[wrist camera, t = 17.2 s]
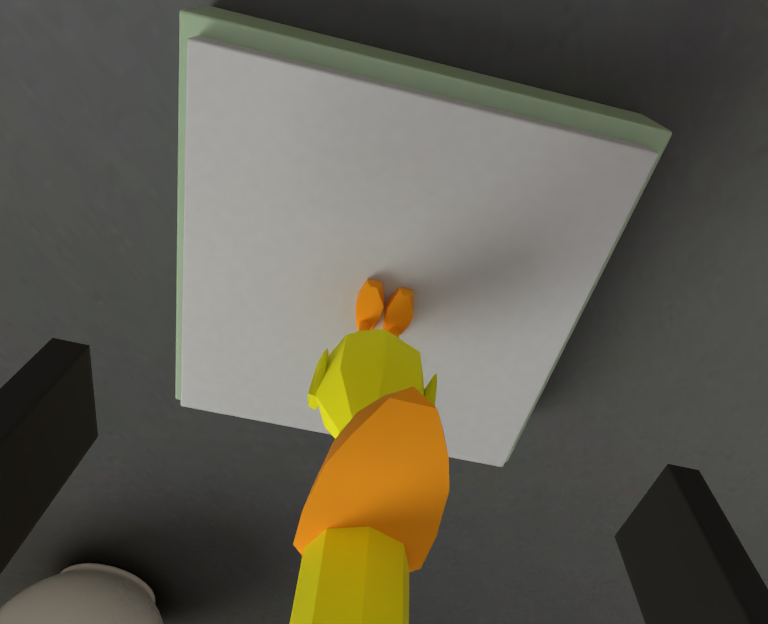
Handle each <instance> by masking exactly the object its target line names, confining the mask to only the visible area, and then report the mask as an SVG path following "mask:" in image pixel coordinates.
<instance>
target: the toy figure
mask: <svg viewBox="0 0 768 624" xmlns="http://www.w3.org/2000/svg"><path fill="white" fill-rule="evenodd" d="M383 308H384V292H383V286H382V281H378V280H373V279H367V280H366V282H365V283H364V285H363V286H362V288H361V289H360V290H359V292H358V296H357V301H356V330H358V332H355V333H351V334H347V335H346V336H345V337H344V338H343V339H342V340H341V341H340V343H339V344H338V345H337V346H336V347H335V348H334V349H333V351H332V352H331V353H330V354H329V355H328V348H327V349H326V350H325V351H324V352H323V354H322V356H321V357H320V359H319V361H318V362H317V366H316V369H315V372H314V375H313V378H312V381H311V385H310V388H309V392H308V396H307V401H308V406H309V407H310V408H311V409H317V408H318V406H319V409H320V413H321V416H322V420H323V424H324V427H325V428H326V429H327V430H328V432H329V433H330V434H331V435H332V436H333V437H334V438H335V440H334V441H333V443H332V446H331V448H330V450H329V452H328V454H327V456H326V458H325V460H324V463H323V465H322V467H321V469H320V471H319V473H318V475H317V477H316V480H315V482H314V484H313V486H312V488H311V491H310V493H309V496H308V498H307V501H306V503H305V506H304V508H303V511H302V514H301V518H300V521H299V525H298V529H297V532H296V536H295V539H294V543H293V545H294V546H295V547H296V549H297V550H298V551H299V553H300V554H301V555H302V560H301V566H300V571H299V576H298V582H297V587H296V592H295V597H294V603H293V608H292V613H291V619H290V624H409V572H412V571H415V570H418V569H421V567H422V565H423V563H424V560H425V558H426V556H427V554H428V552H429V550H430V548H431V546H432V544H433V542H434V540H435V538H436V535H437V532H438V528H439V525H440V521H441V518H442V514H443V511H444V507H445V504H446V500H447V497H448V494H449V456H448V451H447V446H446V441H445V436H444V431H443V428H442V424H441V420H440V416H439V413H438V409H437V408H436V407H435V401H436V392H437V373H436V374H435V375H434V376H433V377H432V379H431V380H430V382H429V383H428V385H427V386H426V388H425V389H424V378H423V370H422V363H421V355H420V352H419V351H418V350H416V349H415V348H413V347H412V346H410V345H409V344H407V343H406V342H404V341H402V340H401V339H399V336H400V335H401V334H402V333H403V332H404V330H405V329H406V328H407V327H408V326H409V325H410V323H411V321H412V319H413V317H414V293H413V290H410V289H406V288H403V287H399V288H398V289H397V290H396V291H395V292H394V293H393V294H392V296H391V297H390V298H389V299H388V301H387V304H386V307H385V313H384V322H383V329H373V328H374V327H375V325H376V323H377V322H378V320H379V318H380V316H381V313H382V311H383Z"/></svg>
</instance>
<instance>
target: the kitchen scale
mask: <svg viewBox="0 0 768 624" xmlns="http://www.w3.org/2000/svg"><path fill="white" fill-rule="evenodd" d="M671 136H672V132H671V131H670V130H668V129H666V128H665V127H663V126H661V125H660V124H658V123H656V122H655V121H653V120H651V119H649V118H648V117H646V116H644V115H643V114H640V113H636V112H632V111H628V110H624V109H620V108H616V107H612V106H608V105H604V104H600V103H596V102H592V101H588V100H584V99H580V98H576V97H572V96H568V95H564V94H560V93H556V92H552V91H548V90H544V89H540V88H536V87H532V86H528V85H524V84H520V83H516V82H512V81H508V80H504V79H500V78H496V77H492V76H488V75H484V74H480V73H476V72H472V71H468V70H464V69H460V68H456V67H452V66H448V65H444V64H440V63H436V62H432V61H428V60H424V59H420V58H416V57H412V56H408V55H404V54H400V53H396V52H392V51H388V50H384V49H380V48H376V47H372V46H368V45H364V44H360V43H356V42H352V41H348V40H344V39H340V38H336V37H332V36H328V35H324V34H320V33H316V32H312V31H308V30H304V29H301V28H297V27H293V26H289V25H285V24H281V23H277V22H273V21H269V20H265V19H261V18H257V17H253V16H249V15H245V14H241V13H237V12H233V11H229V10H225V9H221V8H217V7H213V6H205V7H198V8H191V9H183V10H180V16H179V110H178V203H177V296H176V389H175V398H176V399H179V400H181V406H184V407H189V408H195V409H200V410H205V411H210V412H216V413H221V414H226V415H231V416H237V417H242V418H247V419H252V420H258V421H263V422H268V423H273V424H279V425H284V426H289V427H294V428H300V429H305V430H310V431H315V432H321V433H326V434H330V433H329V432H328V430H327V429H326V428H325V427H324V424H323V420H322V416H321V413H320V409H319V406H318V408H317V409H311V408H310V407H309V406H308V401H307V396H308V392H309V388H310V385H311V381H312V378H313V375H314V372H315V369H316V366H317V362H318V361H319V359H320V357H321V356H322V354H323V352H324V351H325V350H326V349H327V348H328V355H329V354H330V353H331V352H332V351H333V349H334V348H335V347H336V346H337V345H338V344H339V343H340V341H341V340H342V339H343V338H344V337H345V336H346V335H347V334H351V333H355V332H358V330H356V301H357V296H358V292H359V290H360V289H361V288H362V286H363V285H364V283H365V282H366V280H367V279H373V280H378V281H382V286H383V292H384V308H383V311H382V313H381V316H380V318H379V320H378V322H377V323H376V325H375V327H374V328H373V329H383V322H384V313H385V307H386V304H387V301H388V299H389V298H390V297H391V296H392V294H393V293H394V292H395V291H396V290H397V289H398V288H399V287H403V288H406V289H410V290H413V293H414V317H413V319H412V321H411V323H410V325H409V326H408V327H407V328H406V329H405V330H404V332H403V333H402V334H401V335H400V336H399V339H401V340H402V341H404V342H406V343H407V344H409V345H410V346H412V347H413V348H415V349H416V350H418V351H419V352H420V355H421V363H422V370H423V378H424V389H425V388H426V386H427V385H428V383H429V382H430V380H431V379H432V377H433V376H434V375H435V374H436V373H437V392H436V401H435V407H436V408H437V409H438V413H439V416H440V420H441V424H442V428H443V431H444V436H445V441H446V446H447V451H448V456H449V457H452V458H457V459H462V460H468V461H473V462H478V463H483V464H489V465H494V466H499V467H503V465H504V463H505V462H507V461H508V460H509V458H510V456H511V454H512V452H513V450H514V448H515V446H516V444H517V442H518V440H519V438H520V436H521V434H522V432H523V430H524V428H525V426H526V424H527V422H528V420H529V418H530V416H531V414H532V412H533V410H534V408H535V406H536V404H537V402H538V400H539V398H540V396H541V394H542V392H543V390H544V388H545V386H546V384H547V382H548V380H549V378H550V376H551V374H552V372H553V370H554V368H555V366H556V364H557V362H558V360H559V358H560V356H561V354H562V352H563V350H564V348H565V346H566V344H567V342H568V340H569V338H570V336H571V334H572V332H573V330H574V328H575V326H576V324H577V322H578V320H579V318H580V316H581V314H582V313H583V311H584V309H585V307H586V305H587V303H588V301H589V299H590V297H591V295H592V293H593V291H594V289H595V287H596V285H597V283H598V281H599V279H600V277H601V275H602V273H603V271H604V269H605V267H606V265H607V263H608V261H609V259H610V257H611V255H612V253H613V251H614V249H615V247H616V245H617V243H618V241H619V239H620V237H621V235H622V233H623V231H624V229H625V227H626V225H627V223H628V221H629V219H630V217H631V215H632V213H633V211H634V209H635V207H636V205H637V203H638V201H639V199H640V197H641V195H642V193H643V191H644V189H645V187H646V185H647V183H648V181H649V179H650V177H651V175H652V173H653V171H654V169H655V167H656V165H657V163H658V161H659V159H660V157H661V155H662V153H663V151H664V149H665V148H666V146H667V144H668V142H669V140H670V138H671Z"/></svg>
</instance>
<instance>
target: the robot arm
mask: <svg viewBox="0 0 768 624" xmlns="http://www.w3.org/2000/svg"><path fill="white" fill-rule="evenodd" d="M97 437H98V432H97V422H96V411H95V401H94V390H93V380H92V369H91V359H90V348H89V345H84V344H80V343H75V342H70V341H65V340H60V339H55V338H52V339H51V340H50V341H49V342H48V343H47V344H46V345H45V346H44V347H43V348H42V349H41V350H40V351H39V352H38V353H37V354H36V355H35V356H34V357H32V358H31V359H30V360H29V361H28V362H27V363H26V364H25V365H24V366H23V367H22V368H21V369H20V370H19V371H18V372H17V373H16V374H15V375H14V376H13V377H12V378H11V379H10V380H9V381H8V382H7V383H6V384H5V385H4V386H3V387H2V388H0V574H1V573H2V571H3V570H4V568H5V567H6V565H7V564H8V563H9V561H10V560H11V558H12V557H13V556H14V554H15V553H16V551H17V550H18V549H19V547H20V546H21V544H22V543H23V541H24V540H25V539H26V537H27V536H28V534H29V533H30V532H31V530H32V529H33V527H34V526H35V524H36V523H37V522H38V520H39V519H40V517H41V516H42V515H43V513H44V512H45V510H46V509H47V508H48V506H49V505H50V503H51V502H52V500H53V499H54V498H55V496H56V495H57V493H58V492H59V491H60V489H61V488H62V486H63V485H64V484H65V482H66V481H67V479H68V478H69V476H70V475H71V474H72V472H73V471H74V469H75V468H76V467H77V465H78V464H79V462H80V461H81V459H82V458H83V457H84V455H85V454H86V452H87V451H88V450H89V448H90V447H91V445H92V444H93V443H94V441H95V440H96V438H97ZM615 539H616V542H617V544H618V547H619V550H620V553H621V556H622V558H623V561H624V564H625V567H626V570H627V573H628V575H629V578H630V581H631V584H632V587H633V589H634V592H635V595H636V598H637V601H638V603H639V606H640V609H641V612H642V615H643V617H644V620H645V623H646V624H768V589H767V587H766V586H765V584H764V582H763V580H762V579H761V577H760V575H759V573H758V572H757V570H756V568H755V567H754V565H753V563H752V561H751V560H750V558H749V556H748V554H747V553H746V551H745V549H744V547H743V546H742V544H741V542H740V541H739V539H738V537H737V535H736V534H735V532H734V530H733V528H732V527H731V525H730V523H729V522H728V520H727V518H726V516H725V515H724V513H723V511H722V509H721V508H720V506H719V504H718V502H717V501H716V499H715V497H714V496H713V494H712V492H711V490H710V489H709V487H708V485H707V483H706V482H705V480H704V478H703V476H702V475H701V473H700V471H699V470H695V469H690V468H685V467H680V466H675V465H670V464H667V466H666V467H665V469H664V470H663V471H662V473H661V474H660V475H659V477H658V478H657V479H656V481H655V482H654V483H653V485H652V486H651V488H650V489H649V490H648V492H647V493H646V494H645V496H644V497H643V498H642V500H641V501H640V502H639V504H638V505H637V507H636V508H635V509H634V511H633V512H632V513H631V515H630V516H629V517H628V519H627V520H626V522H625V523H624V524H623V526H622V527H621V528H620V530H619V531H618V532H617V534H616V535H615Z"/></svg>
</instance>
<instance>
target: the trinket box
mask: <svg viewBox="0 0 768 624" xmlns="http://www.w3.org/2000/svg"><path fill="white" fill-rule="evenodd" d="M0 624H163V621H162V618H161V616H160V613H159V610H158V609H157V607H156V605H155V595H154V593H153V591H152V589H151V588H150V587H149V586H148V585H147V584H146V583H145V582H144V581H143V580H141V579H140V578H138V577H137V576H135V575H133V574H131V573H130V572H127V571H125V570H122V569H120V568H116V567H113V566H109V565H104V564H95V563H83V564H76V565H72V566H69V567H67V568H65V569H64V570H62V571H61V572H60V574H56V575H53V576H50V577H47V578H45V579H43V580H41V581H38V582H36V583H34V584H32V585H30V586H29V587H27V588H26V589H24V590H22V591H21V592H19V593H18V594H17V595H15V596H14V597H13V598H12V599H11V600H9V601H8V602H7V603H6V604H4V605H3V606H2V607H1V608H0Z"/></svg>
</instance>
